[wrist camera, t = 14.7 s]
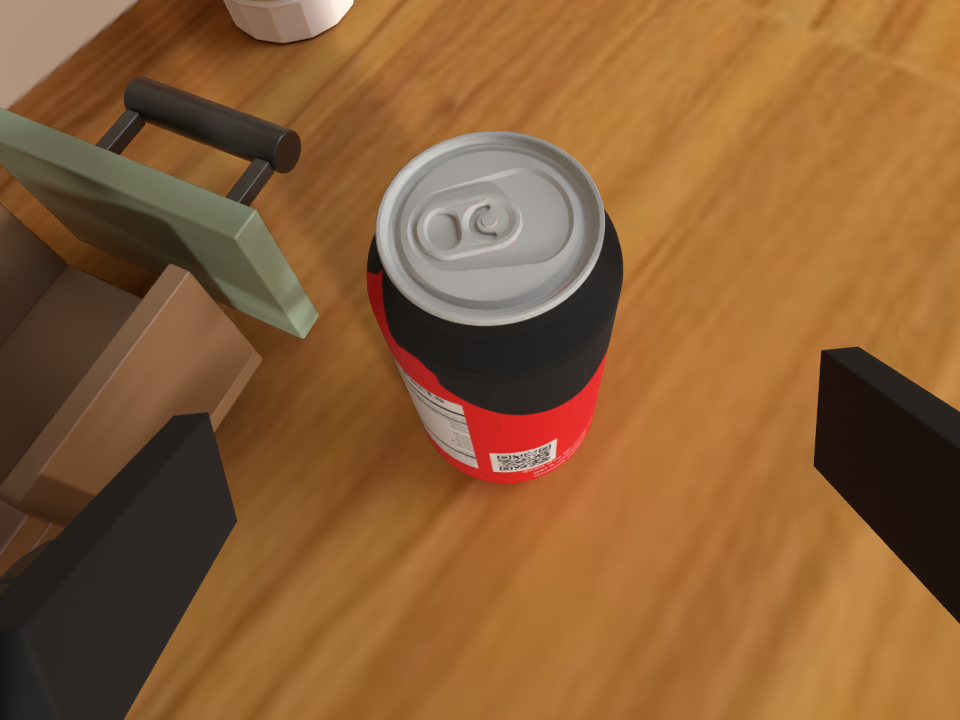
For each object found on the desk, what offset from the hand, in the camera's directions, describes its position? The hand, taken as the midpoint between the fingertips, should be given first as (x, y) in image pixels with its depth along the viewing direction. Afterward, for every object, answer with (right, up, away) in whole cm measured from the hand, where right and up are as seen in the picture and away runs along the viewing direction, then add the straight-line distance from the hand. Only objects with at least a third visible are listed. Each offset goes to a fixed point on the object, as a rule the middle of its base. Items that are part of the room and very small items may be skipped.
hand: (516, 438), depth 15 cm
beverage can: (0, 0, +12) cm, 11 cm away
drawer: (-14, +1, +12) cm, 19 cm away
